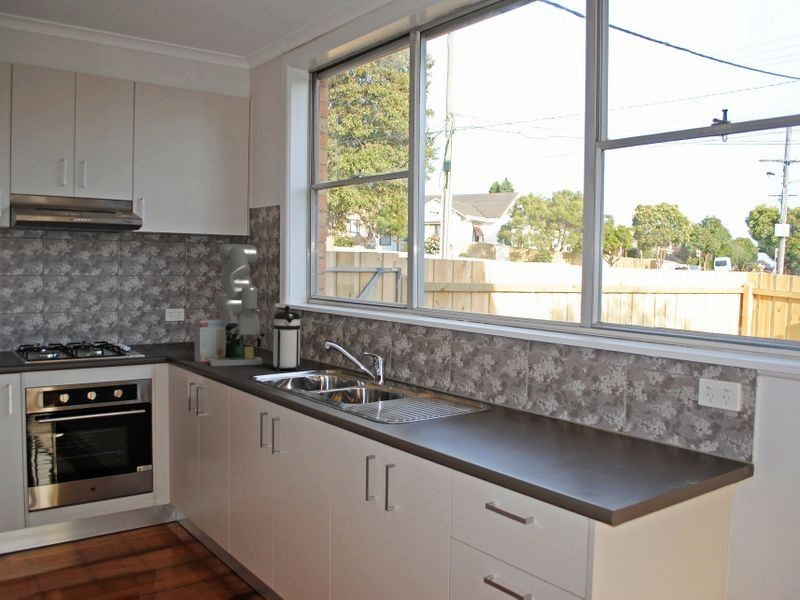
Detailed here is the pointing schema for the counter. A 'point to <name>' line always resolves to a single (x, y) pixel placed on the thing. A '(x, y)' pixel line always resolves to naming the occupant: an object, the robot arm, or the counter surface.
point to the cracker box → (209, 339)
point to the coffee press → (286, 339)
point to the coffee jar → (233, 343)
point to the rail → (235, 361)
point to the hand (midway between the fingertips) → (248, 346)
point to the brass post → (248, 353)
